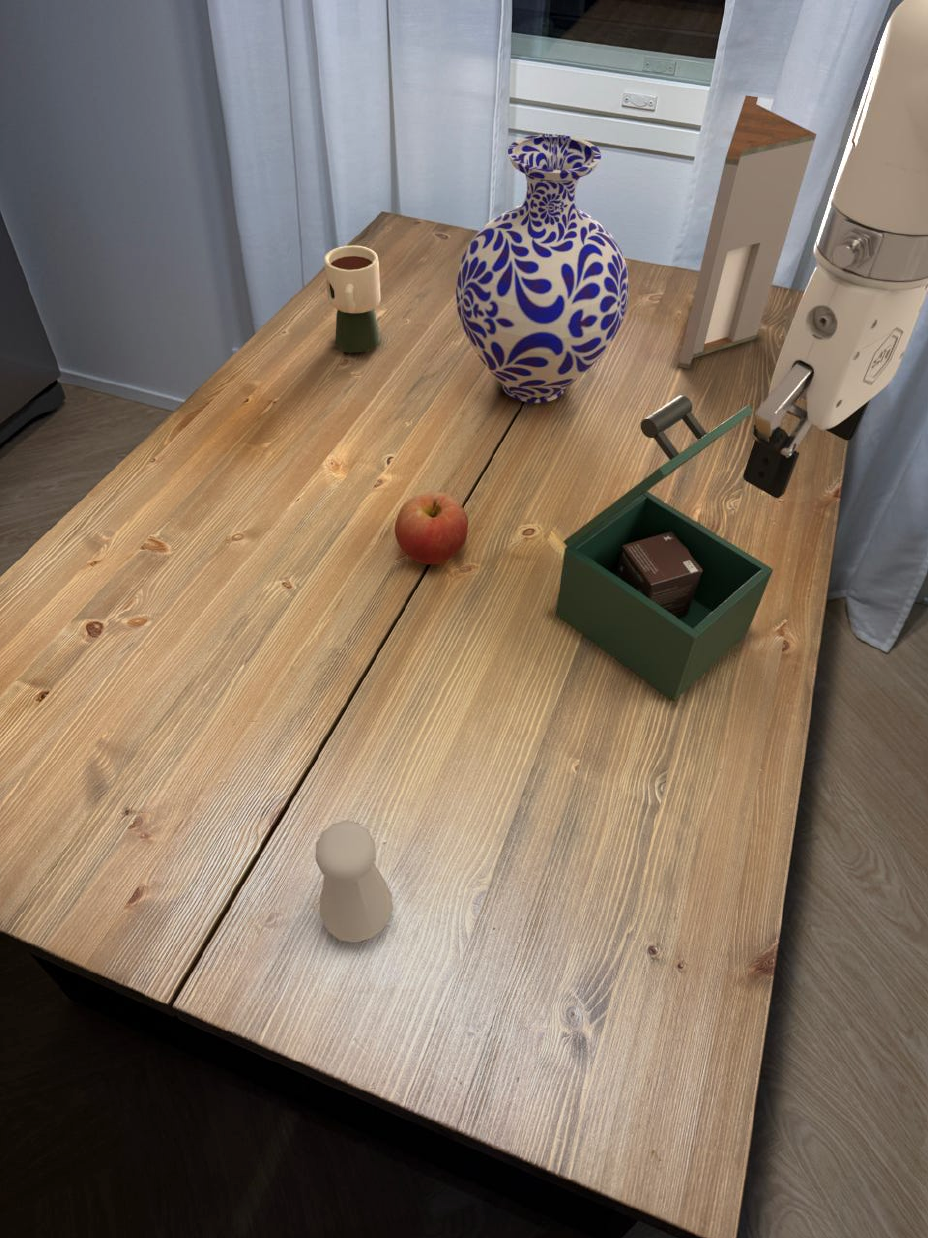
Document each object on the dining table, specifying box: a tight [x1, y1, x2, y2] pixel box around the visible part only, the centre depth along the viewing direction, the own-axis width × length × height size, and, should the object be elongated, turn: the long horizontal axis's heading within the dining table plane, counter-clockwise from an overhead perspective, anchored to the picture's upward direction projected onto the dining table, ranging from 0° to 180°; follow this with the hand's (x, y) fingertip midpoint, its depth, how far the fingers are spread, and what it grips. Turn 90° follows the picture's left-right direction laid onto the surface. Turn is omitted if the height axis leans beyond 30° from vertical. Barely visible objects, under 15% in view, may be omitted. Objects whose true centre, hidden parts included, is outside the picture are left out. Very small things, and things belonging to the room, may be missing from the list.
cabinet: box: [677, 95, 817, 369], centre depth 120 cm, size 21×10×28 cm, turn 162°
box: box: [616, 532, 702, 619], centre depth 91 cm, size 6×6×7 cm
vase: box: [455, 133, 629, 404], centre depth 110 cm, size 22×22×30 cm
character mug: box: [323, 245, 381, 353], centre depth 122 cm, size 11×7×13 cm, turn 179°
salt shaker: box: [315, 820, 393, 944], centre depth 67 cm, size 6×6×13 cm
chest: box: [555, 491, 774, 702], centre depth 90 cm, size 16×13×10 cm
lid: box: [562, 395, 754, 548], centre depth 82 cm, size 17×13×5 cm
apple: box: [394, 491, 469, 565], centre depth 97 cm, size 8×8×8 cm
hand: (798, 458), depth 67 cm, fingers open, 9 cm apart
